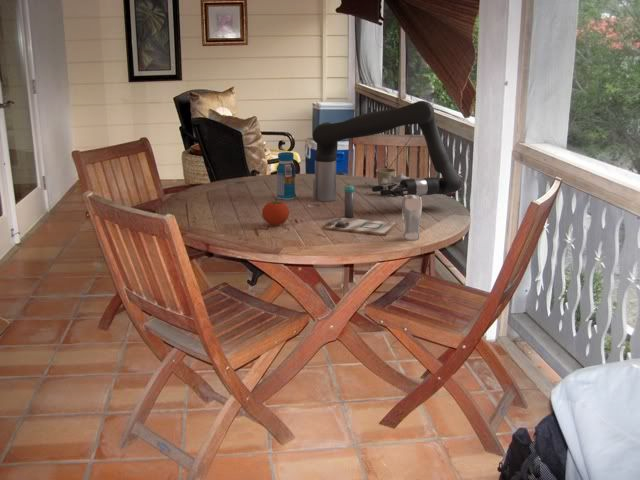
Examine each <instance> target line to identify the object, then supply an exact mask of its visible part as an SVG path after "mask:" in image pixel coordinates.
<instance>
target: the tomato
mask: <svg viewBox="0 0 640 480" xmlns="http://www.w3.org/2000/svg"><path fill="white" fill-rule="evenodd" d="M261 210H262V211H261V215H262V216H261V217H262V219H263V220H264V222H266V223H267V224H269V225H272V226H281V225H283V224H285V222H287V221H288V219H289V216H290V210H289V207H288V206H287V204H285V203H284V202H283V201H277V200H276V199H274V201H273V200H271V201H269V202H268V203H266V204H264V206H263V208H262V209H261Z"/></svg>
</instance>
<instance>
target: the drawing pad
mask: <svg viewBox="0 0 640 480" xmlns="http://www.w3.org/2000/svg"><path fill="white" fill-rule="evenodd" d="M398 225H399V222H394V221H391V222H390V221H385V220H384V221H382V220H371V219H362V218H345V217H341V216H339V217H334V218H333V219H331V220H330V221H328V222H327V225H325V226H324V227H322V230H325V231H335V232H343V233H351V234H354V233H355V234H365V235H371V236H372V235H373V236H383V237H386V236H387V235H388V234H390V233H391V232H392V231H393V230H394V229H395V228H396V227H397V226H398ZM390 231H391V232H390Z"/></svg>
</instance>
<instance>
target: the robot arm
mask: <svg viewBox="0 0 640 480" xmlns="http://www.w3.org/2000/svg"><path fill="white" fill-rule="evenodd" d="M409 125H418V126H419V128H420V130H421V132H422V134H423V137H424V139H425V143H426V147H427V151H428V155H429V157H430V160H431V164H432V166H433V168H434V170H435V171H436V172H437V173H439V174H441V176H442V177H437V178H436V177H415V178H409V179H403V180H401V182H400V184H399V185H397V184H396V183H385V184H380V185H379V184H378V185H373V186H372V187H371V191H372V192H380V196H381V197H386V196H391V197H396V196H399V197H402V198H403V196H404V195H419V196H421V197H423V196H432V195H448V194H449V195H450V194H453V193H455V192H458V191H459V190H460V189H461V187H462V179H461V176H460V174H459V172H458V171H457V169H455V167H454V166H453V164H452V161H451V160H450V157H449V154H448V151H447V149H446V145H444V142H443V139H442V137H441V135H440V131H439V129H438V125H437V120H436V115H435V110H434V106H433V105H432V104H431V103H430V102H428V101H425V100H417V101H416V102H413V103H410V104H407V105H404V106H401V107H398V108H390V109H382V110H376V111H373V112H372V111H371V112H367V113H366V112H365V113H363V114H360V115H357V116H354V117H351V118H350V119H347V120H344V121H339V122H334V123H332V122H329V121H328V122H323V123H321V124H318V125H317V126H316V127H315V128H314V130H313V131H312V134H311V135H312V139H313V141H314V142H315V143H316V150H315V154H314V177H313V179H312V180H313V181H312V185H313V187H312V188H313V189H312V190H313V192H312V193H313V200H315V201H317V202H318V201H319V202H333V201H335V200H337V154H338V145H339V144H338V142H340V141H344V140H348V139H355V138H361V137H362V138H363V137H369V136H374V135H378V134H382V133H385V132H388V131H391V130H394V129H395V128H399V127H402V126H409ZM383 186H384V187H386V188H383ZM396 198H397V197H396Z"/></svg>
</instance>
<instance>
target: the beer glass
mask: <svg viewBox="0 0 640 480" xmlns="http://www.w3.org/2000/svg"><path fill="white" fill-rule="evenodd" d="M422 197H423V196H419V195H404V196H403V197H402V202H401V218H402V224H403V225H402V227H403V231H402V236H401V238H402V239H403V240H405V241H410V240H413V241H418V240H420V233H419V231H420V230H419V229H420V223H421V222H420V221H421V218H422V217H421V216H422V210H423V201H422V199H423V198H422Z"/></svg>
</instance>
